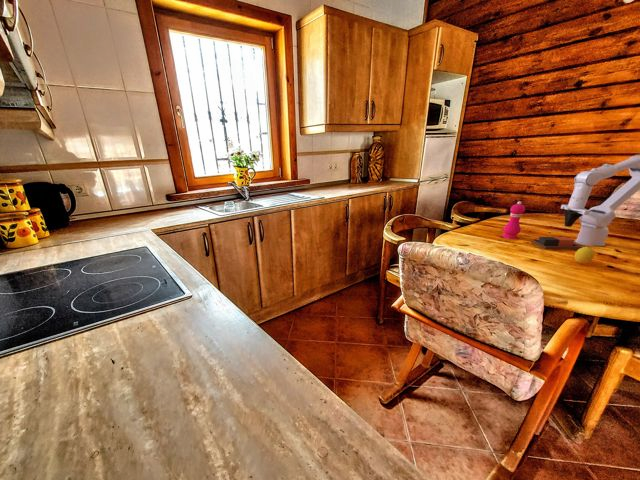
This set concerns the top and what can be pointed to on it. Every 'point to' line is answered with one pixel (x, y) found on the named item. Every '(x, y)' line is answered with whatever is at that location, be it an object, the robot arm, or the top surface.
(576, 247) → the backing tray
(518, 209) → the pepper mill
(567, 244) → the pad
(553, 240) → the pad
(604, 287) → the top surface
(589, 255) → the lemon
